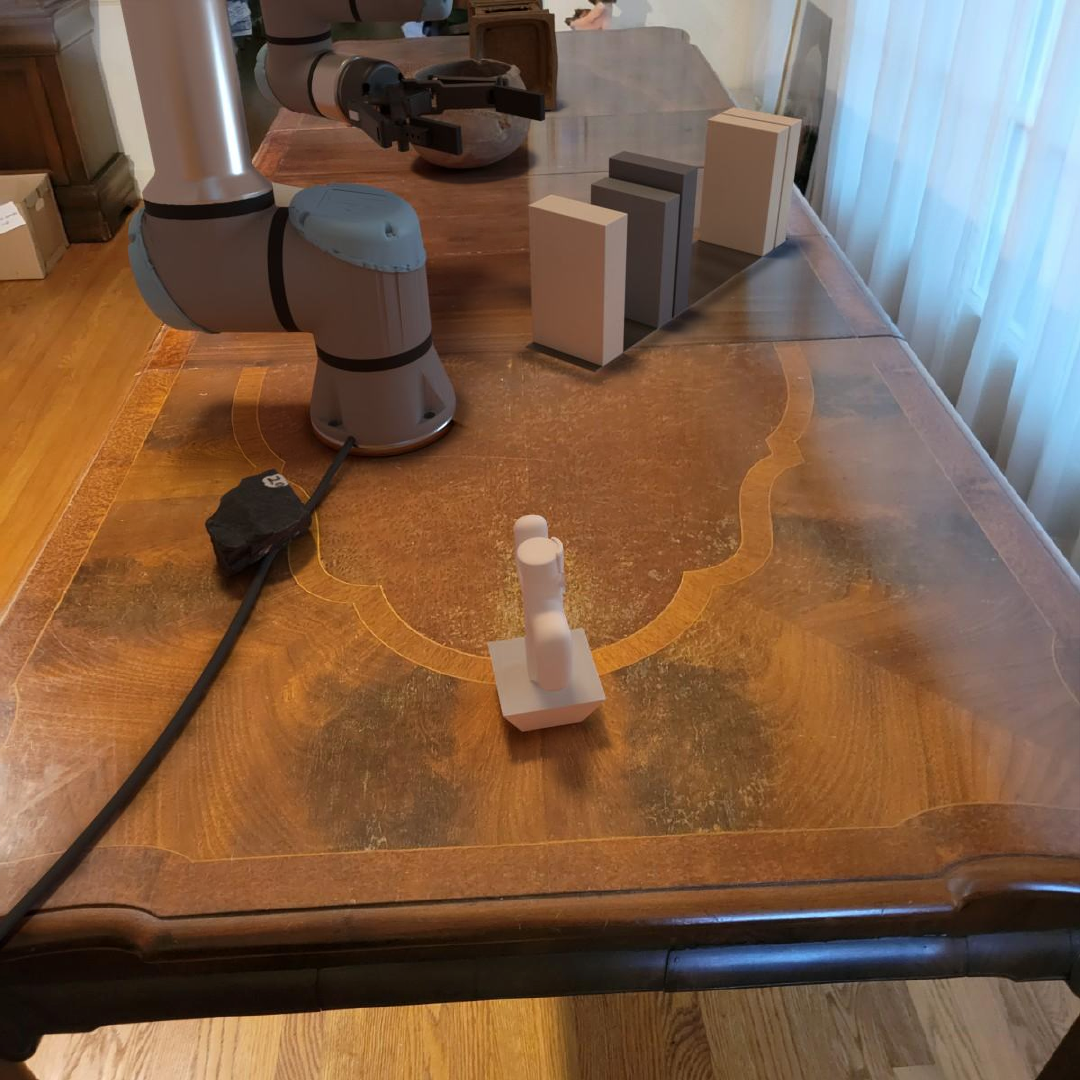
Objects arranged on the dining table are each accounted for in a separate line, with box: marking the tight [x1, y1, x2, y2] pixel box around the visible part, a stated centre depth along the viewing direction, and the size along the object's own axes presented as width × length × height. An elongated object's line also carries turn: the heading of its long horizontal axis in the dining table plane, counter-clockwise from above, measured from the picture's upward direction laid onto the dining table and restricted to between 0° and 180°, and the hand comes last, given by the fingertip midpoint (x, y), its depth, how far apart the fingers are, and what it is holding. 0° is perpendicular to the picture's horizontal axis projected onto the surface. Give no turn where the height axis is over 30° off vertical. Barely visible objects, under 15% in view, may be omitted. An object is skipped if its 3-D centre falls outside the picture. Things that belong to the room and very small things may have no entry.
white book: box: [528, 193, 628, 367], centre depth 107 cm, size 4×10×16 cm, turn 52°
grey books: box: [590, 150, 699, 329], centre depth 115 cm, size 6×10×17 cm, turn 52°
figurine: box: [487, 514, 607, 732], centre depth 67 cm, size 7×9×15 cm
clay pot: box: [406, 58, 532, 169], centre depth 162 cm, size 21×21×15 cm
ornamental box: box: [466, 0, 559, 111], centre depth 197 cm, size 35×18×18 cm, turn 5°
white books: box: [697, 107, 803, 257], centre depth 130 cm, size 6×10×16 cm, turn 52°
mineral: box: [204, 468, 313, 577], centre depth 86 cm, size 10×9×6 cm
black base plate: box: [524, 237, 790, 373], centre depth 124 cm, size 46×10×1 cm, turn 142°
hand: (503, 123), depth 103 cm, fingers open, 13 cm apart
